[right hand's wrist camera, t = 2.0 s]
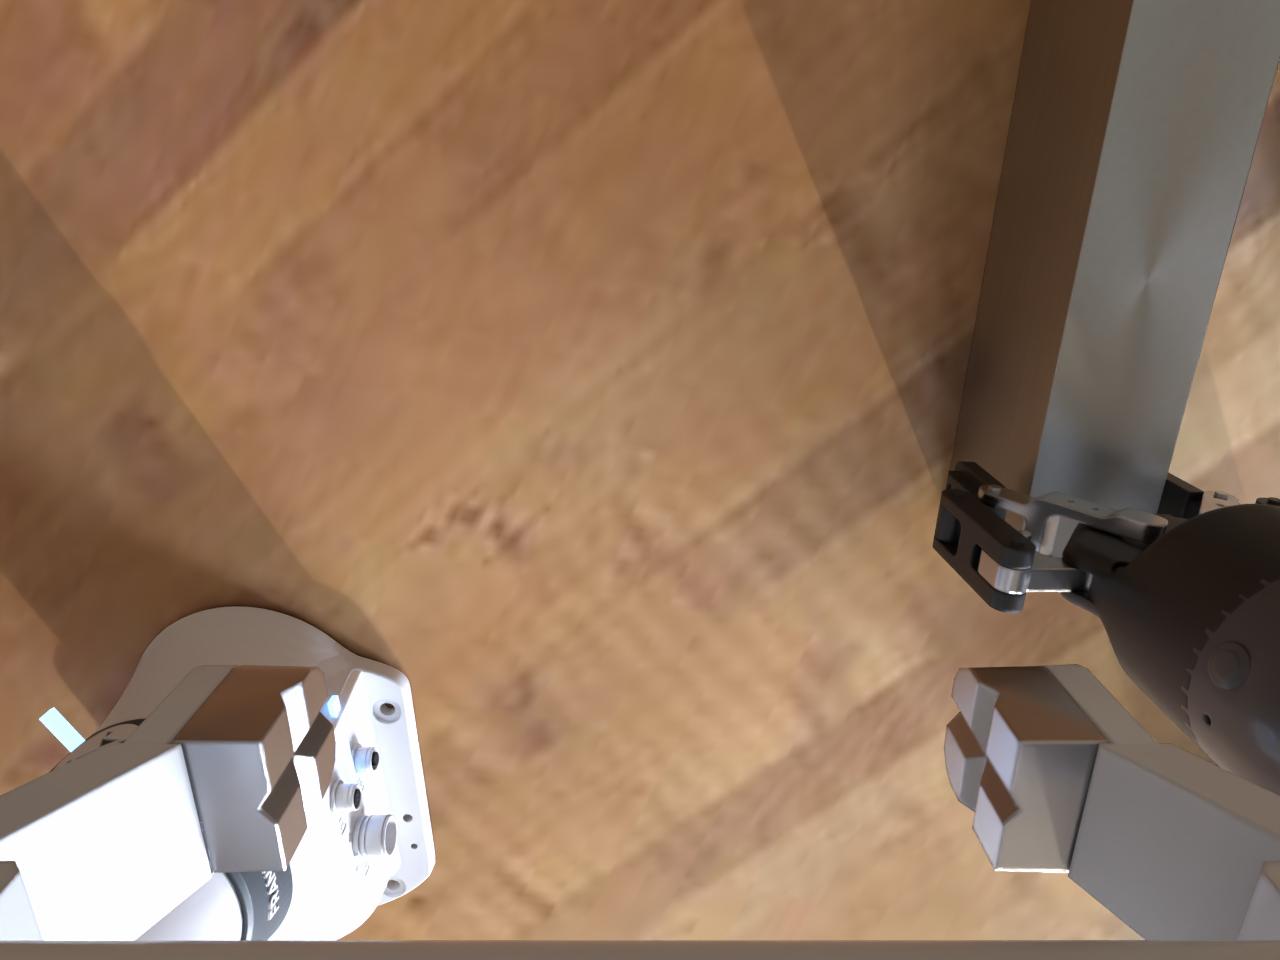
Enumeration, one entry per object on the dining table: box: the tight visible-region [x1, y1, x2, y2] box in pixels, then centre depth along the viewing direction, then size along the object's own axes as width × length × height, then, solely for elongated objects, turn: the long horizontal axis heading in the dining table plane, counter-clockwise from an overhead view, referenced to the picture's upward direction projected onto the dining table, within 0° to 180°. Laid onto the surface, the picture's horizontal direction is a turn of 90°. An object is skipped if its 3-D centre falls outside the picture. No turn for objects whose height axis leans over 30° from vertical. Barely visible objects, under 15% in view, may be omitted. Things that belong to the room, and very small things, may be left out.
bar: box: [950, 0, 1280, 558], centre depth 36 cm, size 26×6×9 cm, turn 178°
